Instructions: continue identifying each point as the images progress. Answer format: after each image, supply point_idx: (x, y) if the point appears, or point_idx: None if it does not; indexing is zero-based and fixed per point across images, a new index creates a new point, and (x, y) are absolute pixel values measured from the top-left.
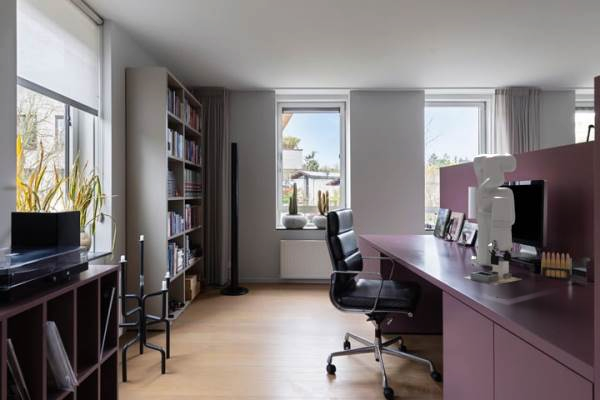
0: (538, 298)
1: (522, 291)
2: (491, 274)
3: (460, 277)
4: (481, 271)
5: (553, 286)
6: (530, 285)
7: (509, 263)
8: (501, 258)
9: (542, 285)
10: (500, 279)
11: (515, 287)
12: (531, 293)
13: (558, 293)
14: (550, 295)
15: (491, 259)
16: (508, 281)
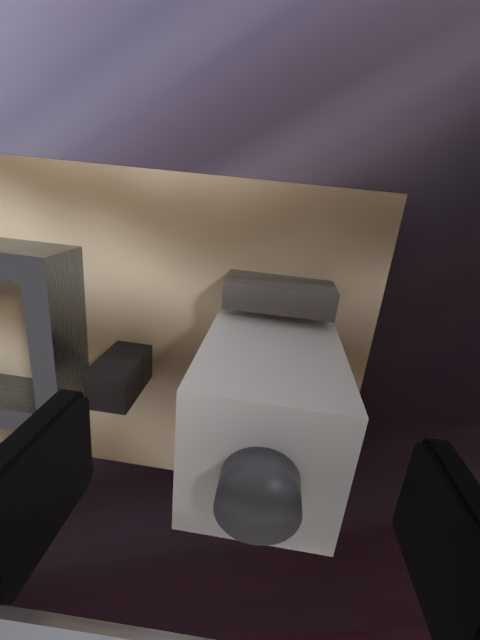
0: (18, 594)
1: (73, 527)
2: (36, 380)
3: (9, 31)
4: (33, 268)
5: (392, 606)
6: None
7: (400, 511)
8: (290, 515)
9: (362, 565)
10: (152, 397)
11: (131, 481)
12: (79, 561)
13: (216, 635)
14: (132, 618)
15: (18, 442)
16: (142, 455)
